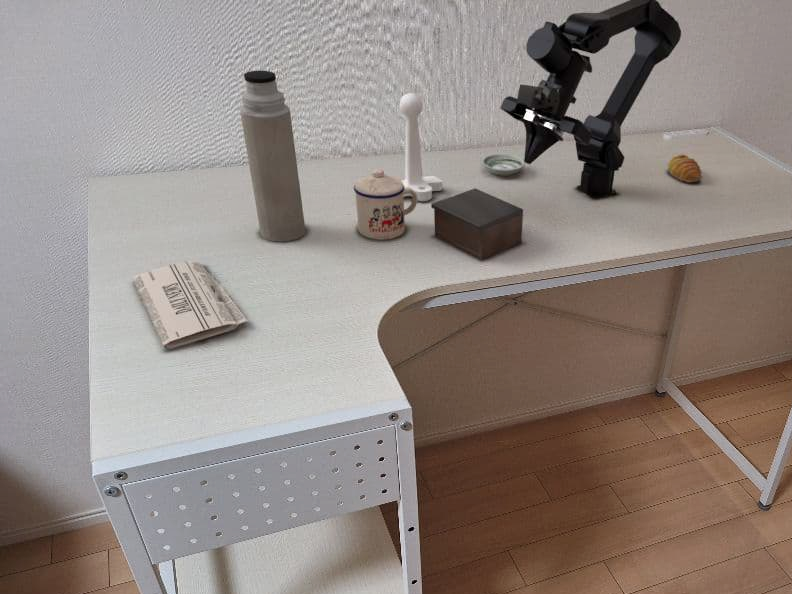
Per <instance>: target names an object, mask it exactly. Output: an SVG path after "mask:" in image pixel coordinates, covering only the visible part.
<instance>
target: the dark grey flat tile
mask: <svg viewBox="0 0 792 594" xmlns="http://www.w3.org/2000/svg"><path fill="white" fill-rule="evenodd" d="M430 207H431V209H433V210H434V209H435V210H437V211H440V212H442V213H444V214H446V215H448V216H450V217H452V218H454V219H456V220H458V221H461V222H463V223H465V224H467V225H469V226H471V227H473V228H475V229H477V230H482V229H485V228H487V227H490V226H492V225H495V224H497V223H500V222H502V221H504V220H507V219H509V218H512V217H514V216H517V215H519V214H522V213H523V214H524V208H521V207H519V206H517V205H515V204H513V203H510V202H508V201H505V200H503V199H501V198H499V197H496V196H494V195H492V194H489V193H488V192H485V191H483V190H480V189H478V188H476V187H475V188H472V189H469V190H466V191H464V192H463V191H462V192H461V193H458V194H455V195H452V196H450V197H446V198H444V199H441V200H438V201H435V202H432V203H431V204H430Z"/></svg>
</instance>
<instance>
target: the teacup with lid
mask: <svg viewBox="0 0 792 594" xmlns="http://www.w3.org/2000/svg"><path fill="white" fill-rule="evenodd" d="M353 191H354V192H355V202H356V215H357V216H356V217H357V227H358V232H359V233H360V235H362V236H363V237H365V238H368V239H371V240H380V241H383V240H392V239H395V238H397V237H400V236H401V235H402V234H404V232H405V231H406V230H405V229H406V226H405V225H406V223H405V216H407V215H409V214H411V213H413V211H414V210H415V209H416V207H417V204H418V201H417V194H416V192H415V191H414V190H412V189H410V188H404V185H403V183H402V181H401V179H399V178H398V177H395V176H393V175H388V174H386V173H385V171H384V170H383V169H381V168H375V169H373V170H372V173H371V174H369V175H365V176H362V177H360V178H358V179H357V180H355V182H354V185H353ZM405 193H411V194H412V196H411V198H412V199H411V203H410V204H409V206H408V207H407V208H405V201H404V200H405V199H404V198H405V197H403V194H405Z"/></svg>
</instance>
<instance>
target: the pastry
mask: <svg viewBox="0 0 792 594" xmlns="http://www.w3.org/2000/svg"><path fill="white" fill-rule="evenodd" d="M667 169H668V172H669V173H670V175H671V176H673V177H675V179H678V181H681V182H685V183H696V182H700V180H701V179H702V170H701V167H700V165H699V164H698V162H697V161H696V160H695V159H694V158H690V157H689V156H688V155H685V154H678V155H676V156H673V158H671V159H670V160H669V162H668V164H667Z"/></svg>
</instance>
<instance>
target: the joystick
mask: <svg viewBox="0 0 792 594" xmlns="http://www.w3.org/2000/svg"><path fill="white" fill-rule="evenodd" d="M423 108H424V104H423V101H422V99H421V97H420V96H419V95H418V94H416V93H413V92H412V93H411V92H409V93H406V94H403V96H402V97H401V98H400V100H399V109H400V111H401V113H402V114H403V115H404V118H405V145H404V147H405V148H404V149H405V151H404V152H405V153H404V155H405V157H404V161H405V162H404V179H402V180H401V179H400V180H401V181H402V183H403V185H404V188H410V189H412V190H414V191H415V192H416V194H417V202H421V203H423V202H428V201H430V200H431V199H432V198H433V192H434V191H435V192H441V191H442V190H443V180H441V179H440V178H438V177H437V176H436V175H435V176H434V175H428V176H423V175H424V174H423V164H422V153H421V141H420V131H419V116H420V115H421V114H422V111H423V110H424V109H423ZM403 197H404V198H405V197H412V194H411V193H405V194H403Z"/></svg>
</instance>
